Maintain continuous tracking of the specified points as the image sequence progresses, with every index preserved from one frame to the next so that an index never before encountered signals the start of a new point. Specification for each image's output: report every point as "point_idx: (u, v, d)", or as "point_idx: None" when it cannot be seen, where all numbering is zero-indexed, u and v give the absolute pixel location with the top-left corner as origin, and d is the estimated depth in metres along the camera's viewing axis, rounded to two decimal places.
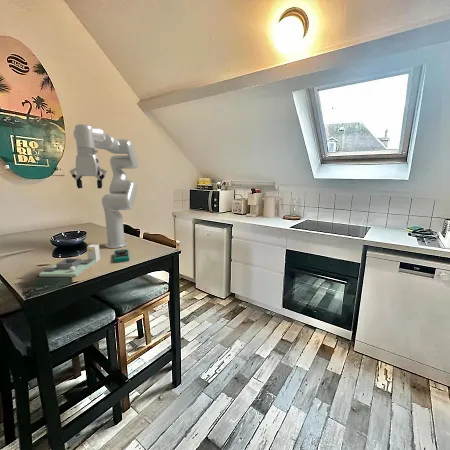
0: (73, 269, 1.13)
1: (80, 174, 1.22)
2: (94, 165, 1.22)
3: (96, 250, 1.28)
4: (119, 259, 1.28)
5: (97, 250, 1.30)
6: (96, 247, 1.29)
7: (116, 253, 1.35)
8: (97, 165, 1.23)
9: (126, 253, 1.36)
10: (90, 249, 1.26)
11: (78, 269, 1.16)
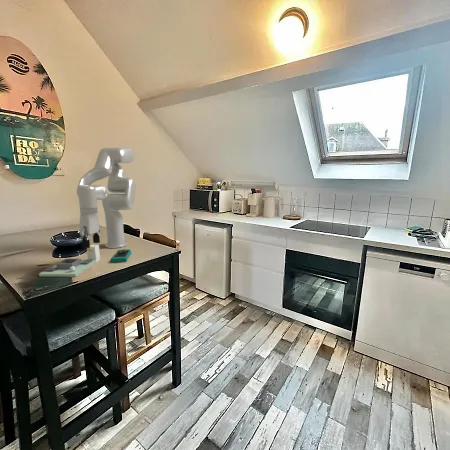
0: (73, 269, 1.13)
1: (91, 233, 1.24)
2: (98, 222, 1.30)
3: (95, 250, 1.28)
4: (116, 259, 1.28)
5: (97, 250, 1.30)
6: (96, 247, 1.28)
7: (117, 253, 1.36)
8: None
9: (126, 253, 1.35)
10: (90, 249, 1.26)
11: (78, 269, 1.16)
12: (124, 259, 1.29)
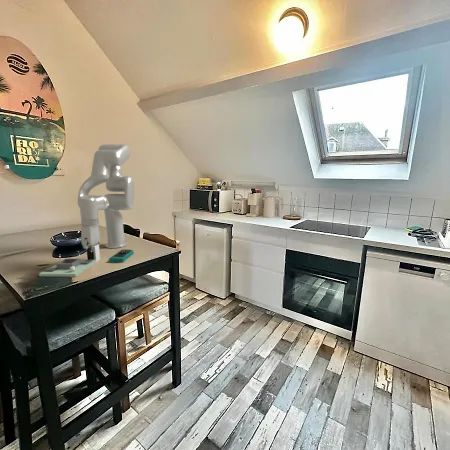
0: (73, 269, 1.13)
1: (93, 244, 1.25)
2: (99, 232, 1.32)
3: (96, 250, 1.28)
4: (113, 259, 1.28)
5: (97, 250, 1.30)
6: (96, 247, 1.29)
7: (118, 252, 1.36)
8: None
9: (126, 254, 1.34)
10: None
11: (78, 269, 1.16)
12: (121, 260, 1.28)
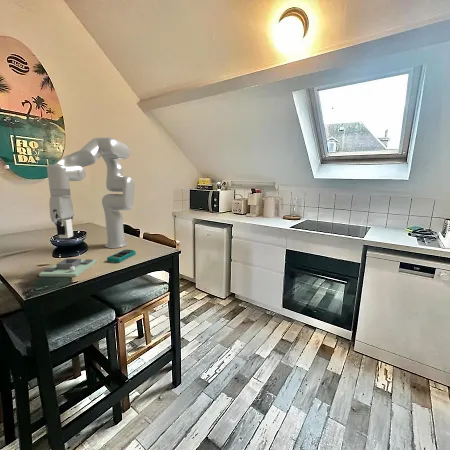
0: (73, 269, 1.13)
1: (63, 217, 1.12)
2: (72, 205, 1.18)
3: (67, 225, 1.14)
4: (111, 259, 1.28)
5: (70, 225, 1.16)
6: (68, 221, 1.15)
7: (119, 252, 1.37)
8: None
9: (125, 254, 1.34)
10: None
11: (78, 269, 1.16)
12: (117, 260, 1.27)
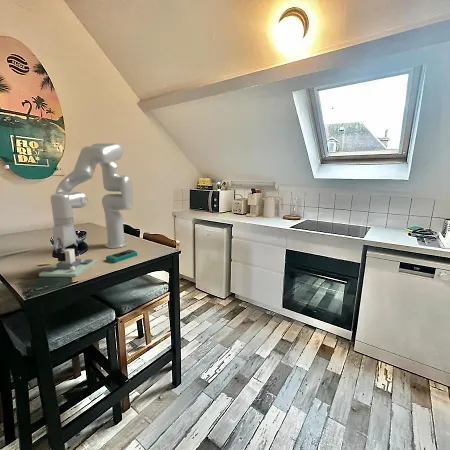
0: (73, 269, 1.13)
1: (67, 245, 1.14)
2: (75, 232, 1.20)
3: (70, 255, 1.17)
4: (108, 258, 1.29)
5: (73, 255, 1.19)
6: (71, 251, 1.17)
7: (121, 252, 1.37)
8: None
9: (124, 255, 1.33)
10: None
11: (78, 269, 1.16)
12: (113, 260, 1.27)
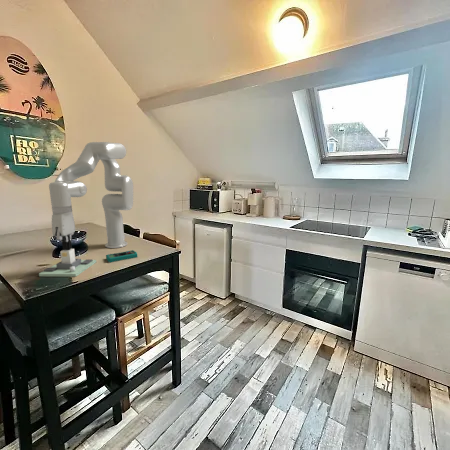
0: (73, 269, 1.13)
1: (65, 234, 1.13)
2: None
3: (70, 255, 1.17)
4: (106, 257, 1.31)
5: (73, 255, 1.19)
6: (71, 251, 1.17)
7: (123, 252, 1.37)
8: None
9: (122, 255, 1.32)
10: (64, 254, 1.15)
11: (78, 269, 1.16)
12: (108, 259, 1.28)
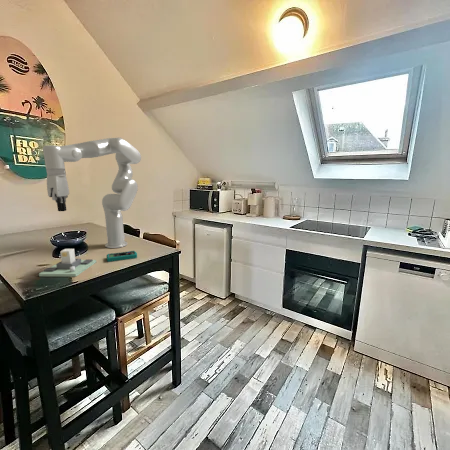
0: (73, 269, 1.13)
1: (60, 195, 1.20)
2: (67, 185, 1.26)
3: (70, 255, 1.17)
4: None
5: (73, 255, 1.19)
6: (71, 251, 1.17)
7: (124, 252, 1.37)
8: None
9: (121, 255, 1.32)
10: (64, 254, 1.15)
11: (78, 269, 1.16)
12: (107, 259, 1.29)
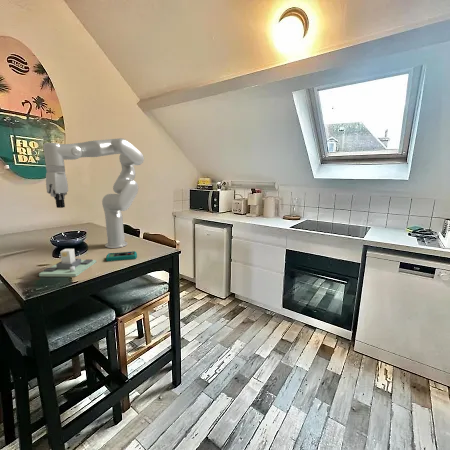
0: (73, 269, 1.13)
1: (59, 192, 1.22)
2: None
3: (70, 255, 1.17)
4: None
5: (73, 255, 1.19)
6: (71, 251, 1.17)
7: (125, 252, 1.37)
8: None
9: (120, 255, 1.32)
10: (64, 254, 1.15)
11: (78, 269, 1.16)
12: (106, 258, 1.30)
